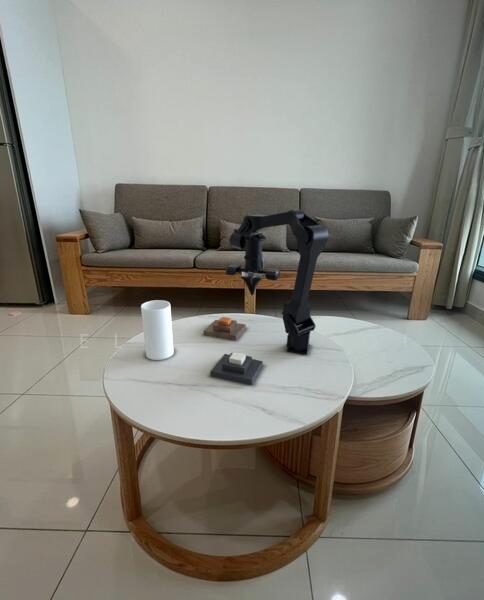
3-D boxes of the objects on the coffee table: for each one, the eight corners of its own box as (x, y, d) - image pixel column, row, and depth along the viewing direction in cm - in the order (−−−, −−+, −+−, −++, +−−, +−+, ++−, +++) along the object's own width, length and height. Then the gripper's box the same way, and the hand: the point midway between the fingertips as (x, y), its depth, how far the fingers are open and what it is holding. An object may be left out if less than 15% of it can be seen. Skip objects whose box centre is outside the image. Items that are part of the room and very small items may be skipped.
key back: (231, 322, 115) (231, 318, 114) (228, 326, 111) (227, 322, 111) (222, 321, 116) (222, 316, 115) (218, 325, 112) (218, 320, 112)
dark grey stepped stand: (262, 365, 94) (263, 355, 93) (251, 385, 85) (252, 373, 84) (224, 358, 97) (224, 348, 96) (210, 376, 88) (210, 365, 87)
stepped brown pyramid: (245, 328, 117) (245, 319, 116) (235, 340, 108) (236, 331, 107) (215, 323, 121) (215, 315, 119) (203, 334, 112) (203, 325, 111)
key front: (245, 359, 91) (245, 354, 91) (241, 366, 88) (241, 360, 87) (233, 357, 92) (233, 351, 92) (229, 363, 89) (229, 358, 88)
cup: (157, 363, 94) (152, 312, 88) (140, 353, 99) (135, 305, 93) (179, 352, 100) (176, 304, 95) (162, 344, 105) (158, 298, 99)
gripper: (285, 250, 116) (282, 291, 121) (236, 245, 121) (236, 285, 126) (277, 256, 106) (275, 300, 111) (225, 251, 111) (225, 294, 116)
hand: (252, 294), depth 117 cm, fingers closed
